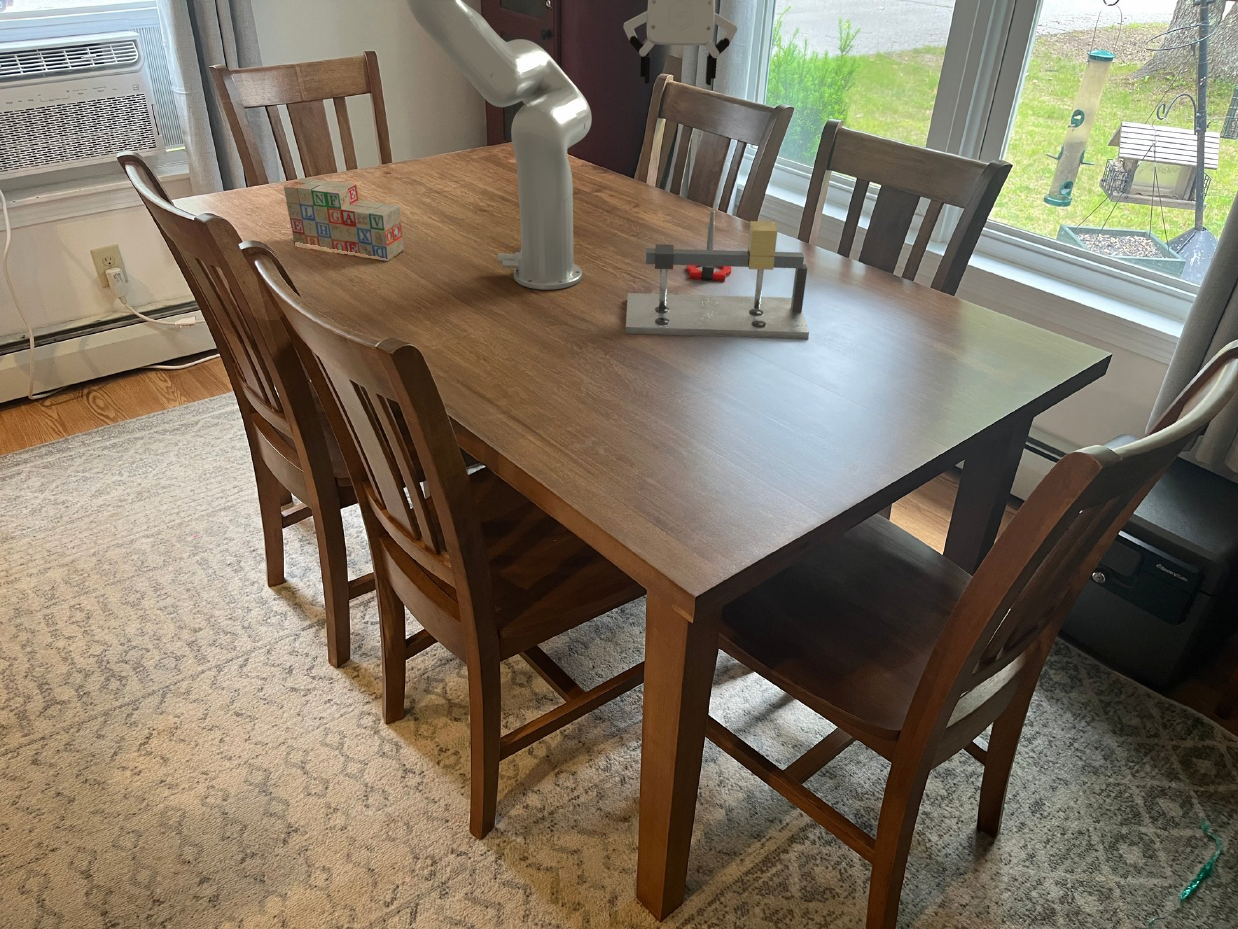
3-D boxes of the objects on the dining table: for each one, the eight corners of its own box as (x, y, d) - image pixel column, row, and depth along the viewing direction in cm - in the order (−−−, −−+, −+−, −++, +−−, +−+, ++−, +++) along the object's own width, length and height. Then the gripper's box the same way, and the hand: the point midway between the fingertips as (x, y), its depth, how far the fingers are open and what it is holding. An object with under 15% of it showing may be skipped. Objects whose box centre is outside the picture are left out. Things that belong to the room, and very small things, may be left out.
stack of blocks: (405, 252, 187) (398, 189, 180) (388, 263, 182) (380, 199, 175) (312, 237, 193) (302, 176, 186) (293, 247, 188) (282, 185, 181)
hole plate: (625, 333, 157) (625, 326, 157) (627, 299, 169) (627, 292, 168) (808, 338, 157) (809, 331, 156) (797, 304, 168) (798, 297, 168)
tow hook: (688, 263, 185) (684, 279, 177) (693, 197, 179) (688, 210, 171) (732, 267, 184) (729, 283, 176) (738, 200, 178) (736, 213, 170)
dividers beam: (644, 310, 162) (646, 253, 157) (644, 299, 166) (646, 243, 160) (802, 315, 162) (810, 258, 156) (799, 304, 165) (806, 248, 160)
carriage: (745, 308, 161) (752, 230, 154) (743, 297, 165) (750, 221, 158) (768, 309, 161) (777, 231, 154) (766, 298, 165) (774, 221, 158)
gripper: (623, -39, 137) (621, 86, 147) (744, -36, 137) (734, 89, 147) (625, -44, 144) (623, 76, 153) (740, -42, 143) (731, 79, 153)
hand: (677, 82), depth 150 cm, fingers open, 9 cm apart
